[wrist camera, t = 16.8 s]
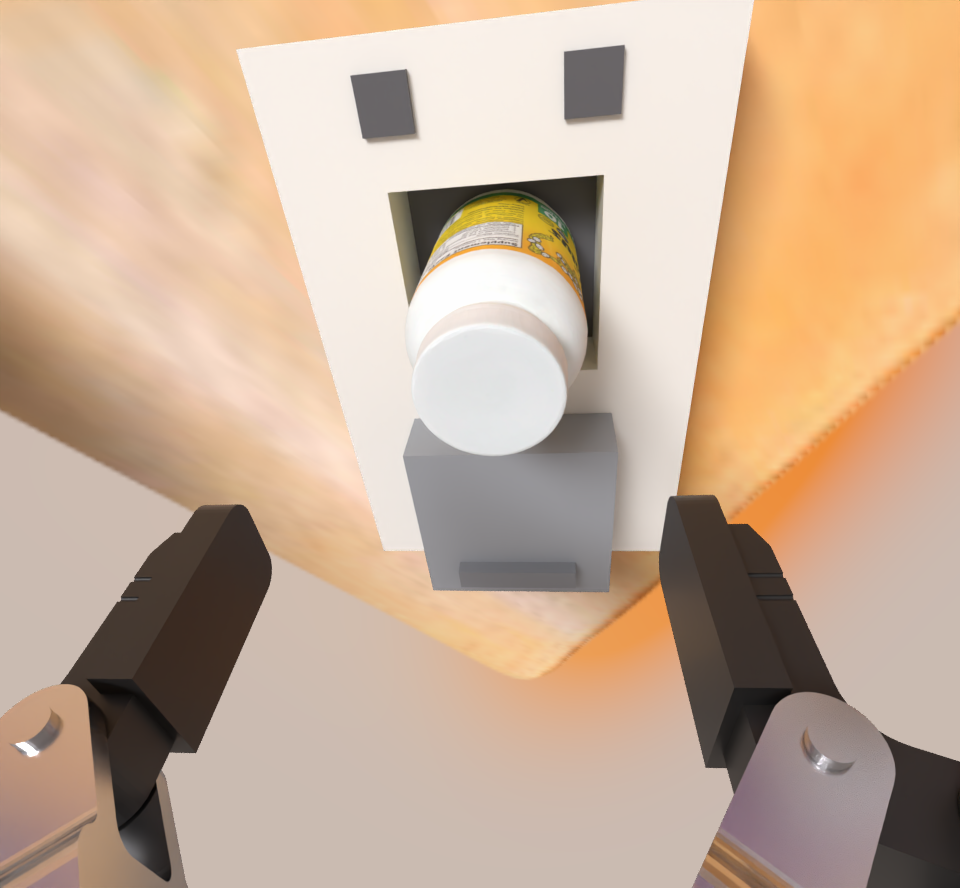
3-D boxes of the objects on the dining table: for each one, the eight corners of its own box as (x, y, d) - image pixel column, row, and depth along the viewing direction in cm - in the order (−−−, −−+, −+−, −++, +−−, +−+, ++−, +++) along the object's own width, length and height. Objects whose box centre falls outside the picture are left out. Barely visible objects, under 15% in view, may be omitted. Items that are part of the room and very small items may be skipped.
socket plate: (396, 509, 31) (382, 553, 28) (275, 44, 18) (233, 50, 16) (657, 507, 29) (668, 554, 27) (725, -11, 16) (758, -14, 14)
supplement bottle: (422, 201, 21) (352, 313, 13) (568, 172, 20) (585, 273, 12) (455, 333, 24) (415, 485, 16) (583, 314, 23) (603, 465, 15)
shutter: (441, 549, 28) (431, 600, 26) (414, 418, 23) (399, 466, 21) (604, 549, 27) (610, 603, 25) (611, 412, 22) (620, 462, 20)
